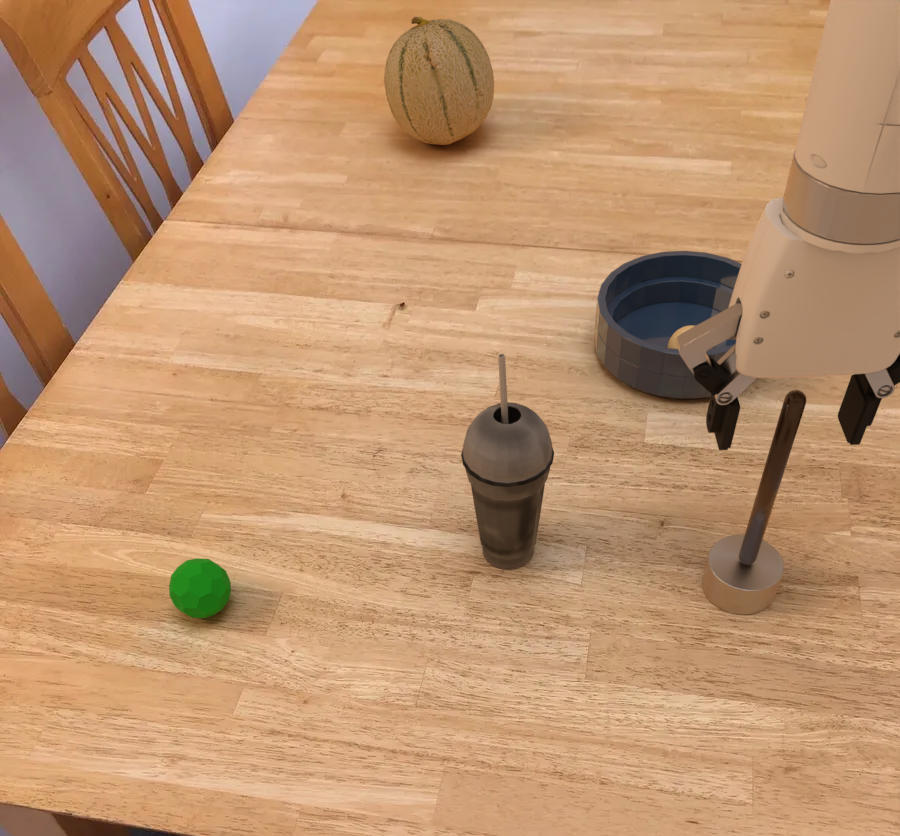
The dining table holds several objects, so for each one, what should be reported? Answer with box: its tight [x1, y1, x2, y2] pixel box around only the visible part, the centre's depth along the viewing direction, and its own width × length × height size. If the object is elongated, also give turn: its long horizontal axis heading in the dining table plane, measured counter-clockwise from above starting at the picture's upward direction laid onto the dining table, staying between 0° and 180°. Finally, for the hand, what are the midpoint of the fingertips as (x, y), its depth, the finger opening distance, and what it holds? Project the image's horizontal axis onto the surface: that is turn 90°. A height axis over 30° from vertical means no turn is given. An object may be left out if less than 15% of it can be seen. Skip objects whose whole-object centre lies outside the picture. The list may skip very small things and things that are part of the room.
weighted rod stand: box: [701, 389, 807, 616], centre depth 69 cm, size 6×6×21 cm
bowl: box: [593, 250, 742, 400], centre depth 95 cm, size 18×18×6 cm
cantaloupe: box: [383, 16, 495, 146], centre depth 122 cm, size 15×15×15 cm
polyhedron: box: [168, 557, 232, 619], centre depth 77 cm, size 5×5×5 cm
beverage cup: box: [460, 353, 555, 571], centre depth 73 cm, size 7×7×20 cm
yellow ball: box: [668, 325, 713, 349], centre depth 92 cm, size 4×4×4 cm
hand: (784, 433), depth 64 cm, fingers open, 8 cm apart
